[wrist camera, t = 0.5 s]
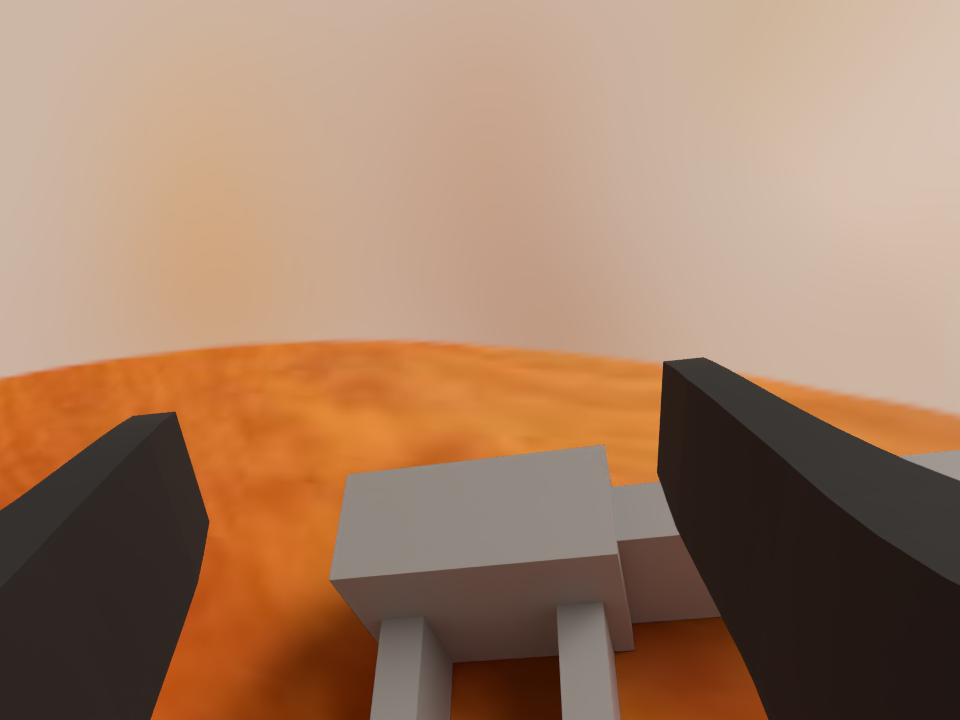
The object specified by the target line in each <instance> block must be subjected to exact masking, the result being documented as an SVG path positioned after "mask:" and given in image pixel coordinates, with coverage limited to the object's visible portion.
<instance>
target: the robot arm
mask: <svg viewBox="0 0 960 720" xmlns="http://www.w3.org/2000/svg"><path fill="white" fill-rule="evenodd" d="M657 474H658V477H659V480H660V483H661V486H662V489H663V492H664V495H665V498H666V501H667V504H668V506H669V509H670V512H671V515H672V517H673V520H674V523H675V526H676V528H677V530H678V532H679V534H680V536H681V539H682V541H683V543H684V545H685V547H686V548H687V550H688V552H689V554H690V556H691V558H692V560H693V562H694V564H695V566H696V568H697V570H698V572H699V574H700V576H701V578H702V580H703V582H704V584H705V586H706V588H707V590H708V591H709V593H710V595H711V597H712V599H713V601H714V603H715V605H716V607H717V609H718V611H719V613H720V615H721V617H722V618H723V620H724V622H725V624H726V626H727V628H728V630H729V632H730V634H731V636H732V638H733V640H734V642H735V644H736V646H737V647H738V649H739V651H740V653H741V655H742V658H743V660H744V662H745V664H746V666H747V668H748V671H749V673H750V675H751V677H752V679H753V681H754V684H755V686H756V689H757V691H758V694H759V696H760V699H761V702H762V704H763V707H764V709H765V712H766V714H767V717H768V719H769V720H960V481H959V480H957V479H954V478H951V477H949V476H946V475H944V474H941V473H939V472H936V471H934V470H931V469H928V468H926V467H923V466H921V465H918V464H916V463H913V462H910V461H908V460H905V459H903V458H901V457H899V456H896V455H894V454H892V453H889V452H887V451H885V450H882V449H880V448H878V447H876V446H874V445H872V444H869V443H867V442H865V441H863V440H861V439H859V438H857V437H855V436H853V435H850V434H848V433H846V432H844V431H842V430H840V429H838V428H836V427H834V426H832V425H830V424H828V423H826V422H824V421H822V420H820V419H818V418H816V417H814V416H813V415H811V414H809V413H807V412H805V411H803V410H801V409H799V408H797V407H796V406H794V405H792V404H790V403H788V402H786V401H785V400H783V399H781V398H779V397H777V396H775V395H774V394H772V393H770V392H768V391H766V390H765V389H763V388H761V387H759V386H758V385H756V384H754V383H752V382H750V381H749V380H747V379H745V378H743V377H741V376H740V375H738V374H736V373H734V372H732V371H730V370H729V369H727V368H725V367H723V366H721V365H719V364H717V363H715V362H713V361H711V360H708V359H706V358H704V357H703V358H693V359H684V360H674V361H664V362H663V377H662V395H661V413H660V430H659V448H658V466H657ZM208 527H209V519H208V515H207V512H206V509H205V506H204V503H203V499H202V496H201V493H200V490H199V486H198V483H197V480H196V477H195V473H194V470H193V467H192V464H191V460H190V457H189V454H188V451H187V448H186V444H185V441H184V438H183V435H182V431H181V428H180V425H179V422H178V418H177V415H176V412H168V413H158V414H148V415H138V416H132V417H131V418H129V419H127V420H126V421H124V422H122V423H121V424H119V425H118V426H116V427H115V428H113V429H112V430H110V431H109V432H107V433H106V434H105V435H103V436H102V437H100V438H99V439H98V440H96V441H95V442H94V443H92V444H91V445H89V446H88V447H87V448H85V449H84V450H83V451H81V452H80V453H79V454H77V455H76V456H75V457H73V458H72V459H71V460H69V461H68V462H67V463H65V464H64V465H63V466H61V467H60V468H59V469H57V470H56V471H55V472H53V473H52V474H50V475H49V476H48V477H46V478H45V479H44V480H42V481H41V482H40V483H38V484H37V485H36V486H34V487H33V488H32V489H30V490H29V491H28V492H26V493H25V494H24V495H22V496H21V497H19V498H18V499H17V500H15V501H14V502H12V503H11V504H9V505H8V506H6V507H5V508H4V509H2V510H1V511H0V720H150V719H151V716H152V713H153V710H154V708H155V705H156V702H157V699H158V696H159V693H160V690H161V688H162V685H163V682H164V679H165V676H166V673H167V671H168V668H169V665H170V662H171V659H172V656H173V654H174V651H175V648H176V645H177V642H178V639H179V637H180V634H181V631H182V628H183V625H184V622H185V619H186V616H187V613H188V610H189V607H190V604H191V601H192V599H193V596H194V592H195V589H196V586H197V583H198V579H199V574H200V569H201V565H202V560H203V555H204V549H205V544H206V538H207V532H208Z"/></svg>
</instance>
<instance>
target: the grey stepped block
mask: <svg viewBox="0 0 960 720" xmlns="http://www.w3.org/2000/svg"><path fill="white" fill-rule="evenodd" d="M899 457H901V458H903V459H905V460H908V461H910V462H913V463H916V464H918V465H921V466H923V467H926V468H928V469H931V470H934V471H936V472H939V473H941V474H944V475H946V476H949V477H951V478H954V479H957V480H959V481H960V450H954V451H945V452H935V453H926V454H916V455H907V456H899ZM329 581H330V582H331V583H332V584H333V586H334V587H335V588H336V590H337V591H338V592H339V594H340V595H341V596H342V598H343V599H344V600H345V601H346V603H347V604H348V605H349V607H350V608H351V609H352V611H353V612H354V613H355V614H356V616H357V617H358V618H359V620H360V621H361V622H362V624H363V625H364V626H365V627H366V629H367V630H368V631H369V633H370V634H371V635H372V637H373V638H374V639H375V641H376V642H377V643H378V644H379V646H378V655H377V664H376V672H375V681H374V689H373V698H372V707H371V715H370V720H450V716H451V694H452V673H453V663H457V662H471V661H486V660H501V659H515V658H530V657H544V656H559V664H560V683H561V702H562V720H621V714H620V705H619V695H618V685H617V676H616V666H615V656H614V652H617V651H632V650H635V646H634V638H633V630H632V623H644V622H657V621H671V620H684V619H697V618H711V617H721V615H720V613H719V611H718V609H717V607H716V605H715V603H714V601H713V599H712V597H711V595H710V593H709V591H708V590H707V588H706V586H705V584H704V582H703V580H702V578H701V576H700V574H699V572H698V570H697V568H696V566H695V564H694V562H693V560H692V558H691V556H690V554H689V552H688V550H687V548H686V547H685V545H684V543H683V541H682V539H681V536H680V534H679V532H678V530H677V528H676V526H675V523H674V520H673V517H672V515H671V512H670V509H669V506H668V504H667V501H666V498H665V495H664V492H663V489H662V486H661V483H660V482H653V483H644V484H634V485H625V486H615V487H612V484H611V479H610V473H609V467H608V461H607V455H606V449H605V445H598V446H589V447H581V448H572V449H564V450H555V451H546V452H538V453H529V454H520V455H512V456H503V457H495V458H486V459H477V460H469V461H460V462H452V463H443V464H434V465H426V466H417V467H409V468H400V469H391V470H383V471H374V472H366V473H357V474H348V475H347V480H346V486H345V492H344V497H343V503H342V509H341V515H340V520H339V526H338V532H337V538H336V543H335V549H334V555H333V561H332V567H331V572H330V578H329Z"/></svg>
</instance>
